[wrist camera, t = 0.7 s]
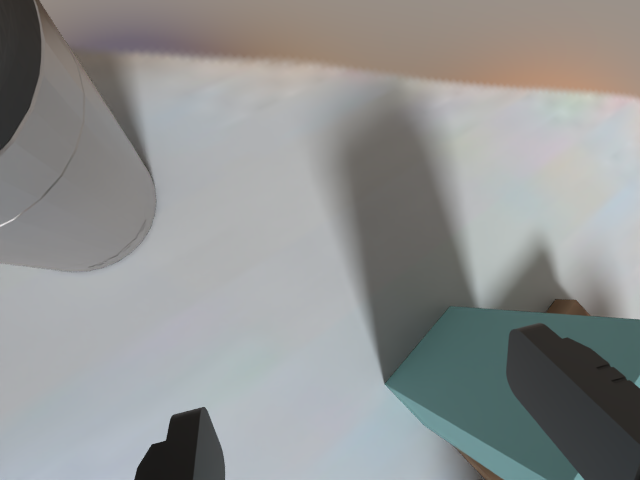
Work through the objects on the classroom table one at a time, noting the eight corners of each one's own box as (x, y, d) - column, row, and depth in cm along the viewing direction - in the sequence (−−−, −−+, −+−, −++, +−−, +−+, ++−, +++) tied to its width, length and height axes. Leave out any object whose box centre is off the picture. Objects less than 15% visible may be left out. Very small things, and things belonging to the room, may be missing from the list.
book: (384, 384, 29) (566, 491, 14) (451, 304, 31) (674, 319, 16) (425, 426, 29) (647, 577, 14) (488, 344, 31) (743, 397, 16)
